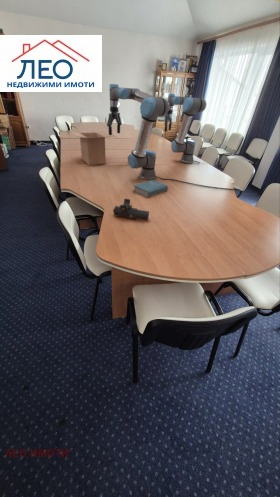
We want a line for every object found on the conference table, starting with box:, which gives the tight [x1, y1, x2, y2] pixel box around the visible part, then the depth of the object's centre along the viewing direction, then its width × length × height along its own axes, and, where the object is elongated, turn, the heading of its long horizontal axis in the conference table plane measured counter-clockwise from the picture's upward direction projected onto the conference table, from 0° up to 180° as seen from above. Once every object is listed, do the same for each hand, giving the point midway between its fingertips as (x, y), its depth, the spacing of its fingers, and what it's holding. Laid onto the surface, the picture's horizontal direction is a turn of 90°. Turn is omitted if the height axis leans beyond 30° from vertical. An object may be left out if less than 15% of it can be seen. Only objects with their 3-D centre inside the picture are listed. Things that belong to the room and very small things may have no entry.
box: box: [70, 129, 114, 166], centre depth 229 cm, size 44×36×27 cm
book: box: [133, 179, 169, 198], centre depth 177 cm, size 23×16×5 cm
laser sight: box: [112, 198, 150, 221], centre depth 138 cm, size 10×22×10 cm, turn 78°
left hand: (114, 134), depth 201 cm, fingers open, 13 cm apart
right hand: (167, 130), depth 265 cm, fingers open, 13 cm apart
